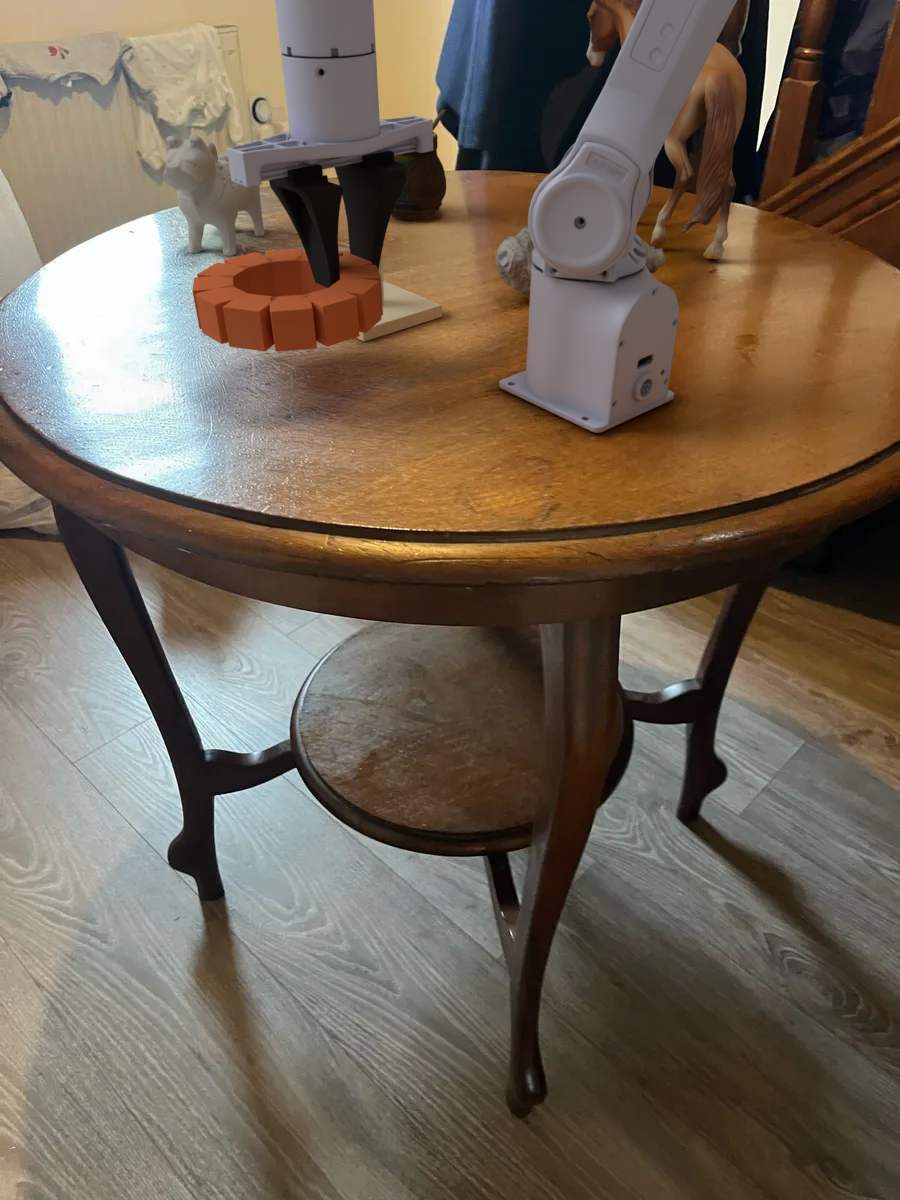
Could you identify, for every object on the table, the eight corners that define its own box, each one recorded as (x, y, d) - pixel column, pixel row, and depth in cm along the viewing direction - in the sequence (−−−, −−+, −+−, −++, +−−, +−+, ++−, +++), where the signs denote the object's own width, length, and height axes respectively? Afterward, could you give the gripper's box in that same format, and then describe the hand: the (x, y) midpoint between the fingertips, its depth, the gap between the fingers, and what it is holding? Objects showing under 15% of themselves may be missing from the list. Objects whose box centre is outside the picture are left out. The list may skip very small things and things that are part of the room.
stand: (442, 316, 74) (441, 248, 70) (363, 342, 70) (358, 270, 66) (383, 291, 79) (380, 226, 75) (306, 313, 75) (299, 245, 71)
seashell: (679, 274, 73) (650, 174, 70) (525, 341, 76) (489, 248, 72) (662, 264, 79) (634, 172, 76) (519, 327, 81) (485, 240, 78)
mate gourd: (366, 213, 98) (360, 110, 92) (422, 201, 102) (420, 102, 95) (403, 228, 93) (399, 121, 87) (461, 215, 97) (461, 112, 91)
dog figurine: (165, 265, 85) (140, 141, 78) (225, 226, 95) (207, 112, 88) (216, 269, 84) (195, 144, 77) (272, 229, 93) (257, 115, 87)
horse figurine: (568, 198, 102) (583, -21, 90) (632, 194, 104) (656, -23, 91) (681, 290, 78) (723, 10, 66) (762, 283, 80) (819, 6, 67)
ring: (417, 318, 60) (416, 279, 59) (261, 368, 54) (254, 326, 53) (316, 273, 68) (312, 238, 66) (168, 313, 62) (160, 274, 60)
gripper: (384, 35, 60) (394, 244, 69) (188, 57, 53) (226, 288, 61) (452, 45, 56) (454, 266, 64) (249, 70, 49) (281, 316, 57)
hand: (346, 279), depth 62 cm, fingers closed on ring, 3 cm apart
